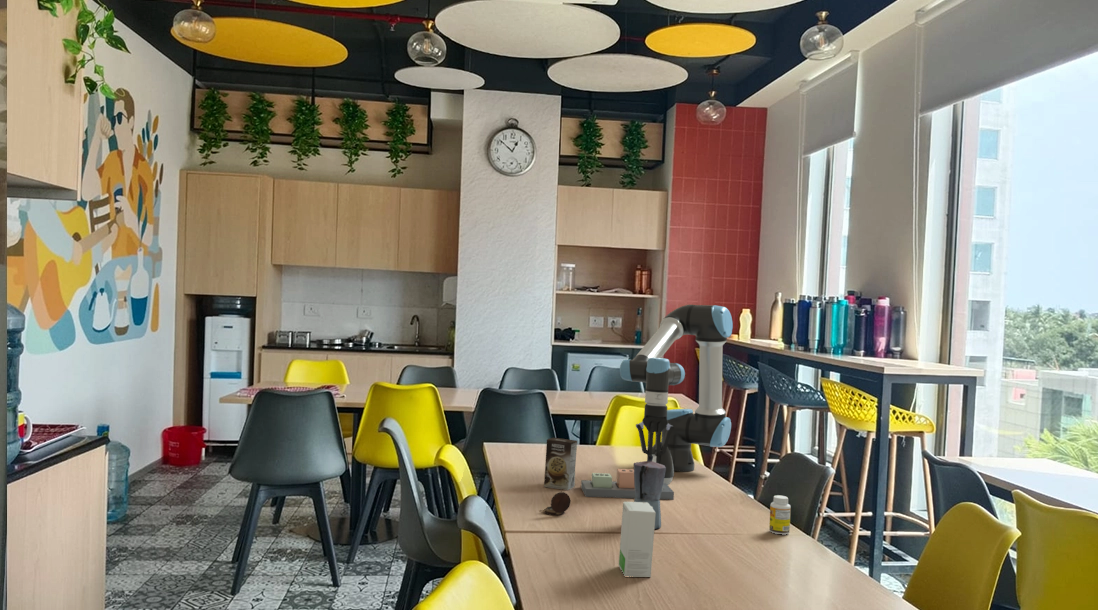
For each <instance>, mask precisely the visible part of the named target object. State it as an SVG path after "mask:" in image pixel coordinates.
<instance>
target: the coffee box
mask: <svg viewBox="0 0 1098 610" xmlns="http://www.w3.org/2000/svg"><path fill="white" fill-rule="evenodd" d="M545 447H546V449H545V465H544V482H543V487H545V488H549V489H550V488H551V489H558V490H562V489H564V490H563V491H570V490H572V489H573V487H574V488H575V481H576V480H575V479H576V465H577V463H576V462H577V448H578V440H575V439H567V438H566V439H565V438H559V437H551V438H548V439H546V445H545ZM571 488H572V489H571ZM569 489H570V490H569Z"/></svg>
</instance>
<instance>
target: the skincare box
mask: <svg viewBox="0 0 1098 610" xmlns="http://www.w3.org/2000/svg"><path fill="white" fill-rule="evenodd" d="M621 513H622V515H621V525H620V526H621V529H620V540H619V541H620V542H619V554H618V555H619V556H618V567H619V570H620V571H621V570H622V571H621V573H622V572H623V573H622V575H623V574H624V575H623V577H624V576H629V577H630V576H631V577H632V576H633V577H651V578H652V568H653V567H652V564H653V562H652V561H653V551H654V539H655V529H654V528H655V515H656V512H655V511H654V510H653V507H652V506H650V504H649V503H648V502H634V501H623V502H622V512H621Z"/></svg>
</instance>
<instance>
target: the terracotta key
mask: <svg viewBox="0 0 1098 610" xmlns="http://www.w3.org/2000/svg"><path fill="white" fill-rule="evenodd" d="M616 471H617V472H616V481H617V485H618V487H619V488H635V486H634V468H630V469H629V468H627V469H626V468H617V469H616Z"/></svg>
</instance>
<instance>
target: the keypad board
mask: <svg viewBox="0 0 1098 610" xmlns="http://www.w3.org/2000/svg"><path fill="white" fill-rule="evenodd" d="M591 483H592V479H591V480H589V479H586V480H585V479H581V482H580V484H581V485H580V488H581V490H582V492H584V493H583V495H584V496H585V498H590V497H592V498H611V497H613V498H614V499H615V498H617V499H635V498H636V497H635V488H619V487H618V485H617V480H615V481H614V480H612V488H604V487H592V485H591ZM668 499H669V500H670V501H672V500H673V501H674V499H675V492H674V491H673V489H672V488H671V487H670V486H669V485H667V484H666V483H663V490H662V492H661V494H660V499H659V500H666V501H667V500H668Z"/></svg>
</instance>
